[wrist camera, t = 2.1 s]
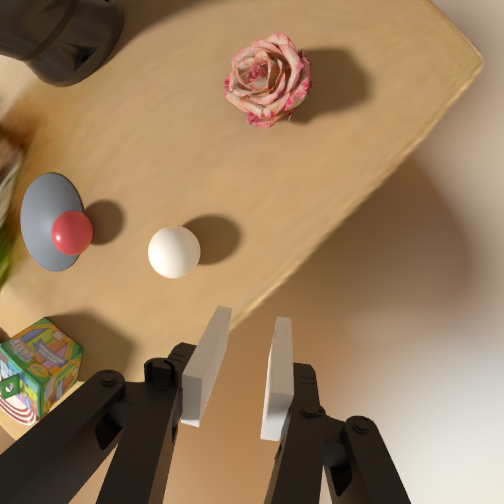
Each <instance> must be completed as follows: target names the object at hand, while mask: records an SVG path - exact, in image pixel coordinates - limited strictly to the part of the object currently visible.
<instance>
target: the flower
mask: <svg viewBox="0 0 504 504" xmlns="http://www.w3.org/2000/svg"><path fill="white" fill-rule="evenodd" d="M231 62H232V66H233V71H232V72H231V73H230V75H229V76H228V77H227V78H226V79H225V82H224V83H225V84H226V85H227V86H225V89H224V93H225V97H226V99H227V100H228V101H230V102H231V103H232V104H234V105H235V106H236V107H238V108H239V109H240V110H242V111H243V112H246V114H247V118H246V119H247V121H248V122H249V124H254V125H255V126H260V127H268V128H269V127H271V126H273V125H274V124H275V123H276V122H277V121H278V120H279V119H281V118H282V117H283V116H284V115H286V114H289V120H290V117H291V115H292V113H293V111H295V109H296V106H298V105H299V104H300V103H301V102H302V101H303V100H304V99H305V98H306V95H307V94H309V93H310V92H309V90H310V89H311V88H312V87H313V85H314V84H315V83H316V82H314V83H313V84H311V83H312V81H310V78H311V72H310V65H312V63H310V62H309V59H308V57H306V53H305V52H304V51H303V50H301V52H298V51H297V49H296V47H295V45H294V44H293V43H292V41H291V40H290V39H289V38H288V37H287V36H285V35H284V34H281V33H279V32H278V33H275V34H273V35H272V36H270V37H268V38H267V39H264V40H262V41H261V40H257V41H254V43H253V44H252V45H251V47H247V48H244V49H242V50H240V51H238V52H237V53H236V54H235V55H234V56H233V58H232V60H231ZM317 83H319V82H318V81H317ZM309 96H310V94H309ZM227 97H228V98H227ZM231 100H232V101H231ZM289 120H288V122H289ZM288 122H287V123H288Z"/></svg>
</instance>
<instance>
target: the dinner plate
mask: <svg viewBox="0 0 504 504" xmlns="http://www.w3.org/2000/svg"><path fill="white" fill-rule="evenodd" d="M0 345H1V344H0ZM0 381H1V375H0ZM6 391H7V392H10V390H9V389H8V388H7V387H6ZM0 408H1V409H2V410H3V411H4V412H5V413H6V414H7V415H9V416H10V417H11V418H13V419H14V420H16V421H17V422H19V423H21V424H24V425H33V424H34V423H35V421H36V415H35V414H34V413H33V412H32V411H31V410H30V409H29V408H28V407H27V406H26V405H24V404H23V403H22V402H21V401H20V400H19V399H18V398H17V397H16V396H15V395H14V396H12V397H9V398H7V399H4V400H3V399H2V397H1V392H0Z"/></svg>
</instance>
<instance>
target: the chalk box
mask: <svg viewBox="0 0 504 504" xmlns="http://www.w3.org/2000/svg"><path fill="white" fill-rule="evenodd" d="M82 354H83V348H82V347H81V346H79V345H78V344H77V343H76V342H74V341H73V340H72V339H71V338H69V337H68V336H67V335H66V334H64V333H63V332H62V331H61V330H60V329H58V328H57V327H56V326H55V325H54V324H52V323H51V322H50V321H49V320H48V319H47V318H46V317H44V318H42V319H41V320H39V321H38V322H36V323H34V324H33V325H31V326H29V327H28V328H26V329H25V330H23V331H21V332H20V333H18V334H16V335H15V336H13V337H12V338H10V339H8V340H7V341H5V342H4V343H2V344H1V345H0V375H1V381H0V392H1V397H2V399H3V400H4V399H7V398H9V397H12V396H14V395H15V396H16V397H17V398H18V399H19V400H20V401H21V402H22V403H23V404H24V405H26V406H27V407H28V408H29V409H30V410H31V411H32V412H33V413H34V414H35V415H37V416H38V417H39V418H41V417H42V416H43V415H44V414H45V413H46V412H47V411H48V410H49V409H50V408H51V407H52V406H53V405H54V404H55V403H56V402H57V401H58V400H59V399H60V398H61V397H62V396H63V395H64V394H65V393H66V392H67V391H68V390H69V389H70V388H71V387H72V386H73V385H74V384H75V383H76V382H77V378H78V373H79V368H80V363H81V358H82ZM6 387H7V388H8V389H9V390H10V392H7V391H6Z"/></svg>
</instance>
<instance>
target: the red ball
mask: <svg viewBox="0 0 504 504" xmlns="http://www.w3.org/2000/svg"><path fill="white" fill-rule="evenodd" d="M92 236H93V229H92V225H91V222H90V220H89V219H88V217H87V216H86V215H84V214H83V213H82V212H79V211H76V210H70V211H66V212H64V213H62V214H61V215H59V216H58V217H57V219H56V220H55V222H54V224H53V227H52V240H53V243H54V245H55V247H56V248H57V249H58V250H59V251H60V252H62V253H63V254H66V255H78V254H80V253H82V252H84V251H85V250H86V249H87V248H88V246H89V245H90V243H91V240H92Z"/></svg>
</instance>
